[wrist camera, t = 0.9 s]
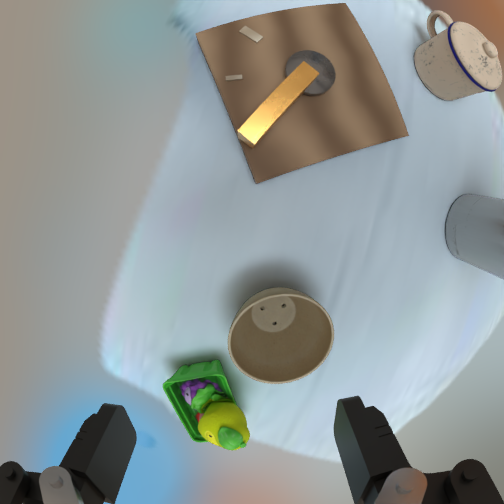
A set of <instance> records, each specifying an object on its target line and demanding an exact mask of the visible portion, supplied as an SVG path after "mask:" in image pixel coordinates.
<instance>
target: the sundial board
mask: <svg viewBox="0 0 504 504" xmlns="http://www.w3.org/2000/svg"><path fill="white" fill-rule="evenodd" d="M196 36H197V40H198V42H199V45H200V47H201V49H202V52H203V54H204V56H205V59H206V61H207V64H208V66H209V68H210V71H211V73H212V75H213V78H214V80H215V83H216V85H217V87H218V90H219V92H220V95H221V97H222V100H223V102H224V104H225V107H226V109H227V112H228V114H229V117H230V119H231V122H232V124H233V127H234V129H235V132H236V134H237V137H238V130H239V129H240V127H241V126H242V125H243V124H244V123H245V122H246V121H247V120H248V118H249V117H250V116H251V115H252V114H253V113H254V112H255V111H256V110H257V108H258V107H259V106H260V105H261V104H262V103H263V102H264V101H265V100H266V99H267V98H268V97H269V96H270V95H271V93H272V92H273V91H274V90H275V89H276V88H277V87H278V86H279V85H280V84H281V83H282V82H283V81H284V80H285V79H286V78H285V66H286V64H287V61H288V59H289V58H290V57H291V56H292V55H293V54H294V53H296V52H299V51H303V50H311V51H315V52H318V53H320V54H322V55H324V56H325V57H326V58H328V59H329V60H330V62H331V63H332V65H333V66H334V69H335V73H336V78H335V82H334V84H333V85H332V87H331V88H330V89H329V90H328V91H327V92H325V93H323V94H321V95H318V96H307V95H303V94H302V95H301V96H300V97H299V98H298V99H297V100H296V101H295V102H294V103H293V105H292V106H291V107H290V108H289V109H288V110H287V111H286V112H285V113H284V114H283V115H282V117H281V118H280V119H279V120H278V121H277V122H276V123H275V124H274V125H273V127H272V128H271V129H270V130H269V131H268V132H267V133H266V135H265V136H264V137H263V138H262V139H261V140H260V141H259V143H258V144H257V145H256V146H255V147H254V148H253V149H252V148H251V147H250V146H248V145H247V144H246V143H244V142H243V141H242V140H241V139H239V138H238V139H239V142H240V144H241V147H242V150H243V152H244V155H245V157H246V160H247V162H248V165H249V168H250V170H251V173H252V175H253V178H254V181H255V183H256V184H257V183H260V182H263V181H265V180H268V179H271V178H274V177H276V176H279V175H282V174H285V173H288V172H291V171H294V170H297V169H299V168H302V167H305V166H308V165H311V164H314V163H317V162H321V161H324V160H327V159H330V158H333V157H336V156H339V155H343V154H346V153H349V152H352V151H356V150H359V149H362V148H366V147H369V146H373V145H376V144H380V143H383V142H387V141H390V140H394V139H398V138H401V137H405V136H409V135H408V132H407V129H406V126H405V123H404V121H403V118H402V115H401V112H400V110H399V107H398V105H397V102H396V100H395V97H394V95H393V92H392V90H391V88H390V85H389V83H388V81H387V79H386V76H385V74H384V72H383V70H382V68H381V66H380V64H379V62H378V60H377V58H376V56H375V54H374V52H373V50H372V48H371V46H370V44H369V42H368V40H367V38H366V37H365V35H364V33H363V31H362V29H361V28H360V26H359V24H358V23H357V21H356V19H355V18H354V16H353V14H352V13H351V11H350V9H349V8H348V6H347V5H346V3H338V4H326V5H316V6H307V7H300V8H293V9H287V10H282V11H276V12H271V13H266V14H262V15H257V16H253V17H249V18H245V19H241V20H237V21H234V22H230V23H227V24H223V25H220V26H217V27H213V28H210V29H207V30H204V31H201V32H199V33H196Z"/></svg>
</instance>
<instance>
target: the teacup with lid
mask: <svg viewBox="0 0 504 504" xmlns="http://www.w3.org/2000/svg"><path fill="white" fill-rule="evenodd" d="M438 16H441V17H442V18H443V19H444V20H445V22H446V23H447V25H448V28H447V29H446V30H444V31H442V32H441V33H439V34H438V35H437V34H436V31H435V21H436V19H437V17H438ZM427 29H428V32H429V35H430V37H431V39H430V40H428V41H426V42H425V43H423V44H422V45H420V46H419V47H418V48H417V49H416V52H415V56H414V61H415V66H416V70H417V72H418V75H419V77H420V78H421V80H422V82H423V83H424V84H425V86H426V87H427V88H428V89H429V90H430V91H431V92H432V93H433V94H434V95H436V96H437V97H439V98H441V99H444V100H448V101H451V100H455V99H459V98H462V97H466V96H469V95H473V94H476V93H480V92H484V91H489V92H492V91H495V90H496V89H497V88H498V87H499V86H500V84H501V81H502V70H501V65H500V62H499V59H498V57H497V56H498V51H497V49H496V47H495V46H494V45H493V43H491V42H489V41H488V40H487V39H486V38H485V36H484V35H482V33H480V31H478V30H477V29H476V28H475V27H473V26H472V25H470V24H467V23H465V22H453V20H452V19H451V18H450V16H449V15H448V14H446V13H445V12H443V11H439V10H436V11H433V12H431V13H430V15H429V16H428V19H427Z"/></svg>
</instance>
